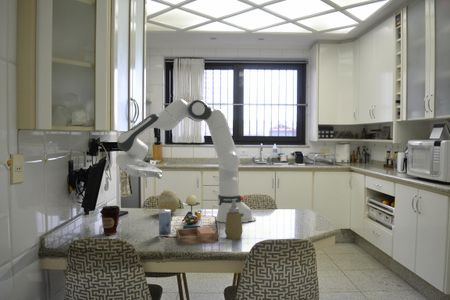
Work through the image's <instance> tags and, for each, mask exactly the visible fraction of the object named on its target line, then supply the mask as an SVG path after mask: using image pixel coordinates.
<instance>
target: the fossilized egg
mask: <svg viewBox="0 0 450 300" xmlns="http://www.w3.org/2000/svg"><path fill="white" fill-rule="evenodd" d="M179 204H180V201H179V197H178V195H177V194H176V192H175V191H174V190H173V189H170V188H169V189H164V190H163V191H162V192H161V193H160V194H159V196H158V198H157V207H158V209H159V210H160V209H170V210H171V214H174V213H175V212H176V211H177V209H178V208H179ZM159 210H158V211H159Z"/></svg>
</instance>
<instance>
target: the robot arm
mask: <svg viewBox="0 0 450 300" xmlns="http://www.w3.org/2000/svg"><path fill="white" fill-rule="evenodd" d="M186 118H188V119H190V120H192V121H194V122H202V121H204V122H205V123H206V124H207V127H208V131H209V133H210V137H211V140H212V143H213V146H214V150H215V152H216V155H217V159H218V196H217V204H218V205H217V208H218V209H217V213H216V217H215V221H216V222H220V223H225V224H226V217H227V213H228V212H229V208H230V207H231V206H232V201H233V200H235V201H236V206H237V207H238V208H239V212H240V213H241V219H242V222H244V223H249V222H248V221H252V222H256V221H257V219H256V217H255V216H254V215H252V209H251V207H249V206H248V205H247V204H246V203H245V202H243V201H244V200H245V197H244V196H243V195H240V194H239V188H240V187H239V183H240V182H239V166H240V162H241V161H240V160H241V159H240V156H239V153H238V151H237V147H236V144H235V141H234V139H233V137H232V132H231V130H230V126H229V123H228V120H227V118H226V116H225V113H224V111H223V110H222V109H221V108H217V107H216V108H212V107H211V106H210V105H209V104H207V102H205V101H204V100H202V99H193V100H192V101H191V102H190V103H188V102H187V101H185V100H184V99H182V98H177V99H175V100H174V101H172V102H171V103H170V104H168V105H167V106H166V107H165V108H164V109H163V110H162V111H160V112H158V113H152V114H150V115H148V116H147V117H145V118H144V119H143V120H140V121H139V122H138V123H137V124H136V125H133V127H131V128H130V129H128V130H127V131H124V132H123V133H121V134H119V136H118V138H117V141H116V142H117V148H118V149H119V150H122V152H119V153H117V155H116V156H115V162H116V165H117V166H118V167H119V168H120V169H122V170H123V171H124V172H125V173H126V174H127V175H129V176H131V177H135V178H138V177H142V178H144V179H147V178H157V179H159V180H160V179H162V178H163V170H161V169H160V168H158V166H157V167H156V165H153V163H151V162H146V161H145V159H147V156H148V155H149V150H150V149H149V146H148V145H147V144H145V142H144V141H142V140H140V139H139V137H140V136H141V135H143V134H144V133H146V132H147V131H148V130H149V129H153V128H155V129H159V130H162V131H172V130H173V129H174V128H176V127H177V126H178V125H179V124H180V123H181V122H182V121H183V120H184V119H186ZM255 220H256V221H255Z"/></svg>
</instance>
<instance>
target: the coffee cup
mask: <svg viewBox="0 0 450 300" xmlns="http://www.w3.org/2000/svg"><path fill="white" fill-rule="evenodd" d="M120 211H121V209H120V208H119V205H106V206H102V207H101V212H100V213H101V223H102V224H101V225H102V229H103V231H102V233H103V235H105V236H106V235H107V236H110V235H111V236H113V235H117V234H118V225H119V223H120V222H119V221H120V213H121V212H120Z"/></svg>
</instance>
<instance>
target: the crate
mask: <svg viewBox="0 0 450 300" xmlns="http://www.w3.org/2000/svg"><path fill="white" fill-rule="evenodd" d="M211 228H212V229H213V230H214V231H215V235H208V236H197V227H195V228H193V227H192V228H191V227H190V228H178V229H177V228H176V229H175V231H176V232H175V233H176V234H175V236H176V238H177V241H178V242H177V243H178V245H188V244H189V245H190V244H200V243H213V242H214V243H215V242H216V243H217V242H219V234H218V232H217V231H216V230H215V229H214V228H213V227H212V226H211Z"/></svg>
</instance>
